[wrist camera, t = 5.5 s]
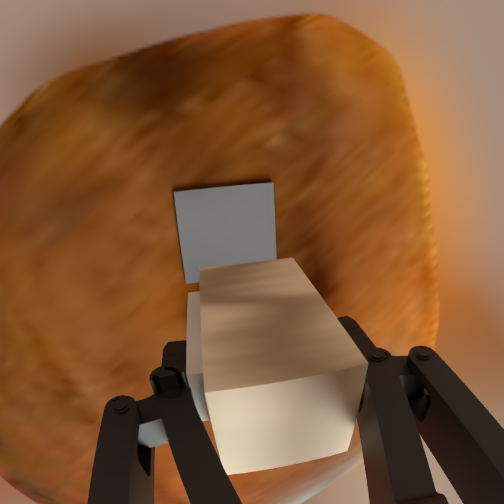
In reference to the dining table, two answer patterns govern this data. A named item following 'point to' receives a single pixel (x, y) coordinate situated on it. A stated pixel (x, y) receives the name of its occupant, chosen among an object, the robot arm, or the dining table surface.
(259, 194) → the pad
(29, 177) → the dining table surface
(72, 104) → the dining table surface
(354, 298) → the dining table surface
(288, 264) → the block
